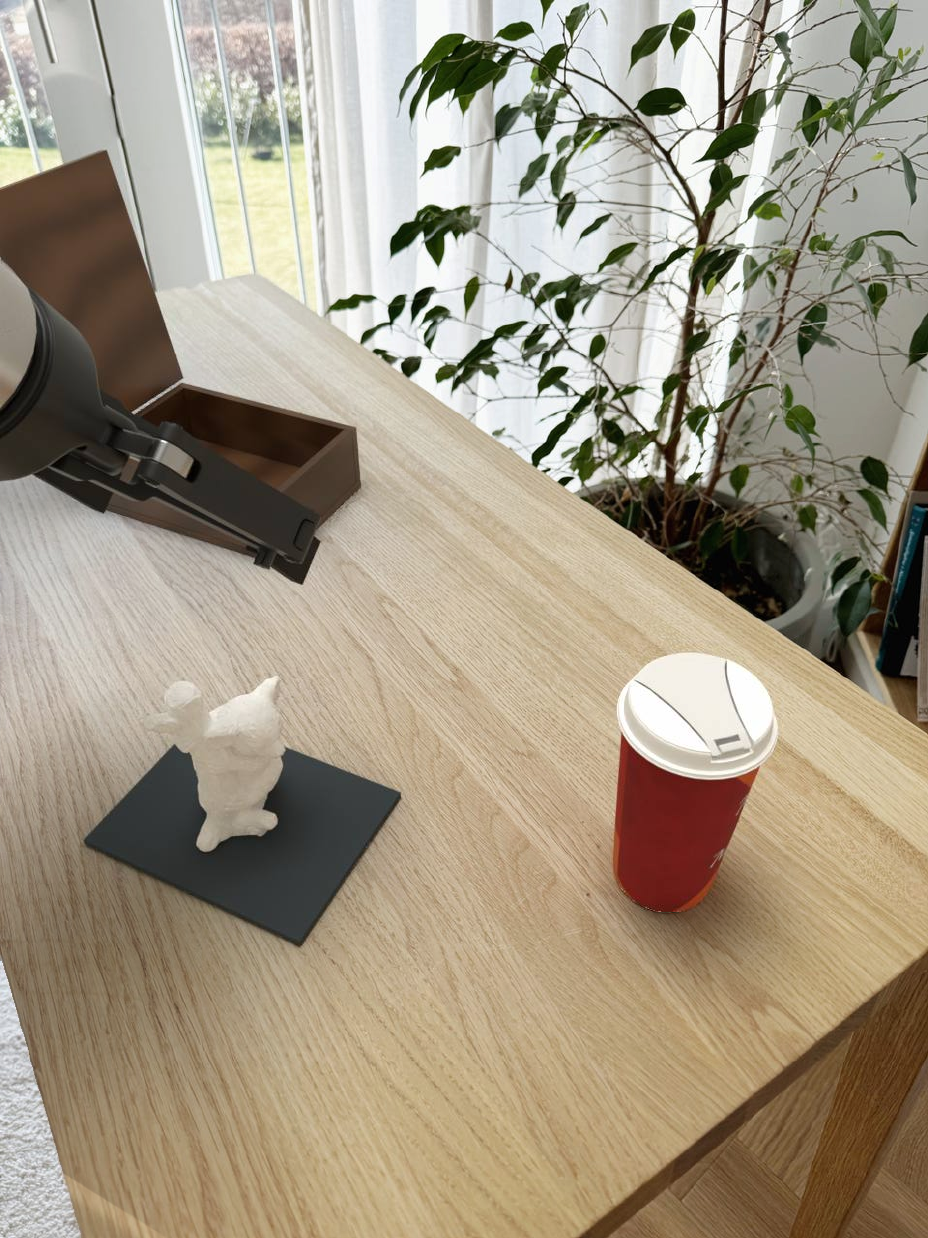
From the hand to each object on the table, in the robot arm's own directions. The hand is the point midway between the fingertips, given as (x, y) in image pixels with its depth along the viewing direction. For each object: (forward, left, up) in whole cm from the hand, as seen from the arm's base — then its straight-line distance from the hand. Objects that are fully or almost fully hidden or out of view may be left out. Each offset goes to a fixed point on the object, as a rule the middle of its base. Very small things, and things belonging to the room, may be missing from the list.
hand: (204, 525), depth 57 cm
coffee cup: (+30, +1, -18) cm, 34 cm away
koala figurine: (+4, -7, -17) cm, 19 cm away
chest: (-18, +23, -17) cm, 34 cm away
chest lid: (-29, +23, -1) cm, 38 cm away
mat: (+5, -7, -17) cm, 19 cm away
